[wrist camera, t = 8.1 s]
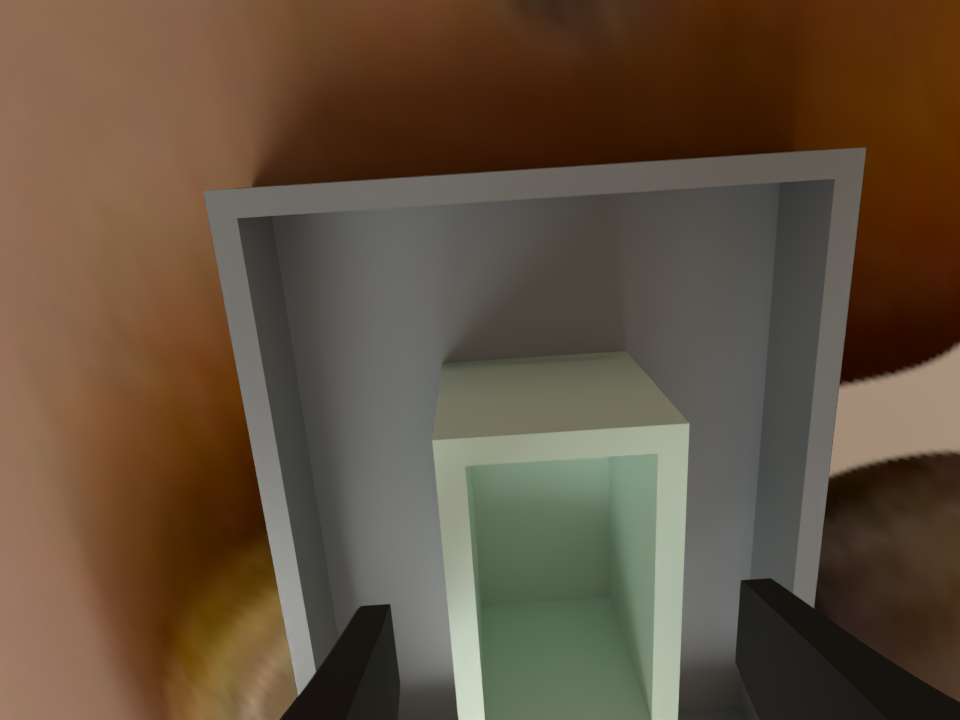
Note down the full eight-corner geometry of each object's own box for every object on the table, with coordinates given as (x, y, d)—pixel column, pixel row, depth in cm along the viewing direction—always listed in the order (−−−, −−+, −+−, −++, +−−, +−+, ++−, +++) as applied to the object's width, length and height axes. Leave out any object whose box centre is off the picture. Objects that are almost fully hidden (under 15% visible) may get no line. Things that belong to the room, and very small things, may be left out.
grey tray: (749, 704, 21) (793, 788, 18) (340, 732, 21) (321, 820, 18) (794, 151, 16) (866, 147, 13) (250, 187, 16) (203, 190, 13)
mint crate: (624, 599, 19) (676, 742, 14) (463, 610, 19) (461, 756, 14) (626, 351, 17) (689, 423, 12) (441, 363, 17) (432, 440, 12)
